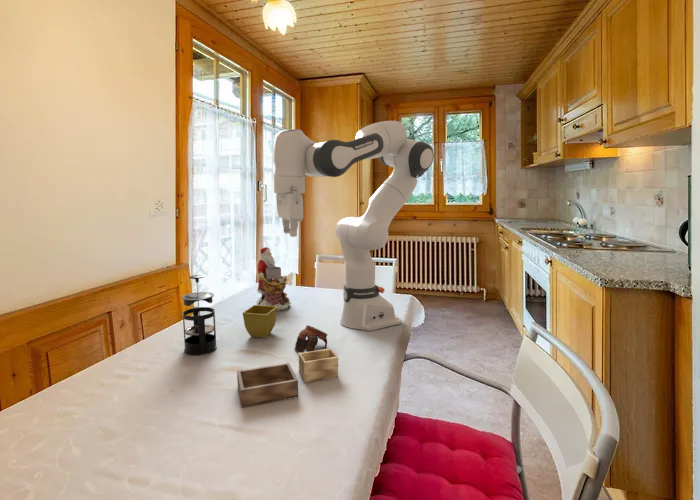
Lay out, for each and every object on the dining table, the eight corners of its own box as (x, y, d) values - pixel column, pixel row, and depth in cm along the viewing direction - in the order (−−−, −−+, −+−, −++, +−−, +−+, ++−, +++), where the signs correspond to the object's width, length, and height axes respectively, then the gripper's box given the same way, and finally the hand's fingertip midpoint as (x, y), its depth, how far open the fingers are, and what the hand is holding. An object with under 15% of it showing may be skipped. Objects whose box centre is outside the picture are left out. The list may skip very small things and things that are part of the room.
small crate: (330, 367, 105) (330, 348, 104) (338, 377, 99) (338, 357, 99) (298, 372, 102) (298, 353, 101) (304, 383, 96) (304, 362, 95)
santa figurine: (293, 310, 155) (291, 249, 152) (257, 313, 151) (255, 251, 148) (288, 299, 171) (286, 244, 168) (256, 302, 167) (253, 246, 164)
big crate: (289, 378, 99) (288, 362, 98) (298, 397, 90) (298, 380, 89) (237, 386, 94) (237, 370, 93) (241, 407, 85) (241, 390, 84)
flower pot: (267, 341, 123) (267, 314, 122) (242, 338, 125) (241, 312, 124) (278, 331, 132) (277, 306, 130) (254, 329, 133) (253, 304, 132)
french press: (220, 352, 114) (216, 277, 111) (186, 359, 110) (181, 281, 106) (212, 339, 124) (209, 270, 121) (181, 344, 120) (177, 273, 116)
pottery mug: (291, 346, 120) (302, 322, 122) (318, 358, 122) (328, 333, 123) (294, 352, 109) (306, 325, 110) (323, 365, 110) (335, 338, 112)
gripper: (309, 186, 101) (309, 238, 103) (293, 187, 120) (293, 231, 122) (285, 186, 99) (285, 239, 101) (273, 187, 118) (273, 231, 120)
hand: (289, 234), depth 112 cm, fingers open, 8 cm apart
